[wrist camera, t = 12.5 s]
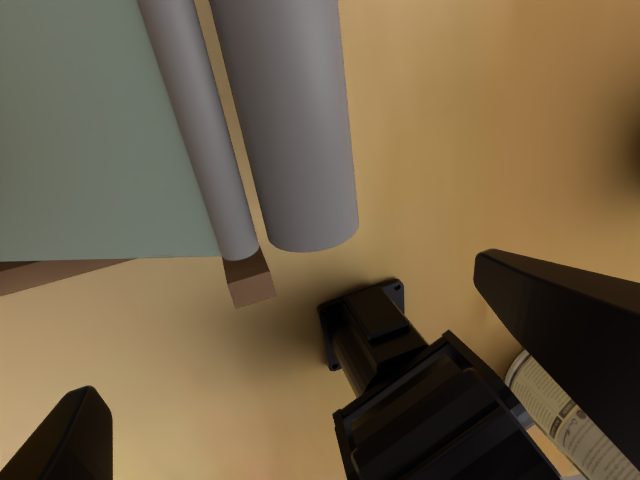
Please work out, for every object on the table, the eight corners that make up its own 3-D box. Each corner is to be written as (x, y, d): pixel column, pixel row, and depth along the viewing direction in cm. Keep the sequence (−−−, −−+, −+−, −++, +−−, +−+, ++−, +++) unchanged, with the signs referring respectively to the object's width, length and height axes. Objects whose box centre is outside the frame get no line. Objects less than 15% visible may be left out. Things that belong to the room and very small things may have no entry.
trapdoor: (362, 203, 15) (354, 257, 12) (14, 222, 19) (-64, 267, 16) (297, -521, 7) (218, -963, 4) (-284, -238, 11) (-570, -341, 8)
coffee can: (596, 318, 39) (776, 439, 27) (560, 387, 43) (701, 515, 32) (521, 335, 36) (689, 480, 24) (490, 407, 40) (619, 558, 28)
